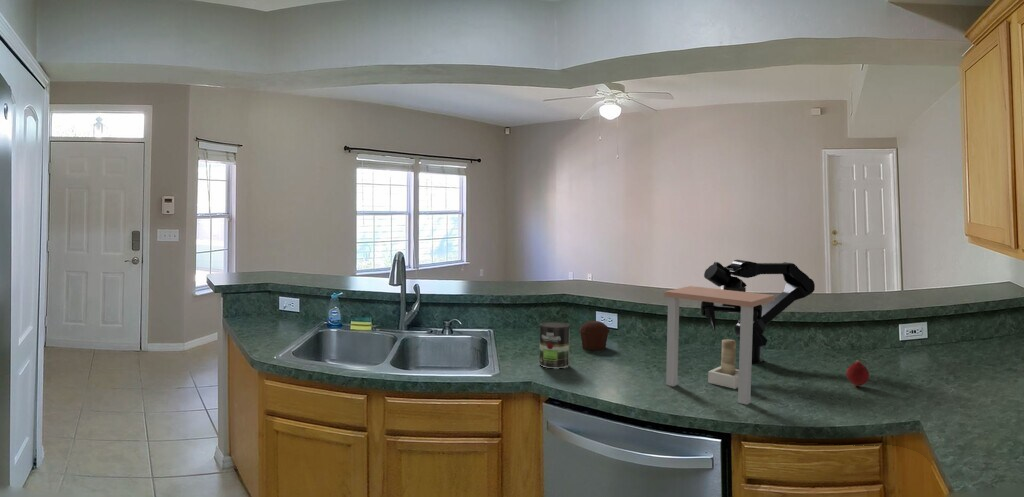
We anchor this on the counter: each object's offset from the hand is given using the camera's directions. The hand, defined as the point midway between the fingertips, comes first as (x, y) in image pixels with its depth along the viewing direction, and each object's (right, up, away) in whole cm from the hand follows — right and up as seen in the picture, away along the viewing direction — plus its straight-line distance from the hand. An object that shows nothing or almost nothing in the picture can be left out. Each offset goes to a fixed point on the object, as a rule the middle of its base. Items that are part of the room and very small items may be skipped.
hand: (729, 331), depth 183 cm
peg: (-4, -14, -10) cm, 18 cm away
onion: (+33, -15, -13) cm, 39 cm away
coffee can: (-56, -13, +9) cm, 58 cm away
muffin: (-39, -11, +33) cm, 53 cm away
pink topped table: (-10, -15, -15) cm, 23 cm away
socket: (-4, -14, -10) cm, 18 cm away
